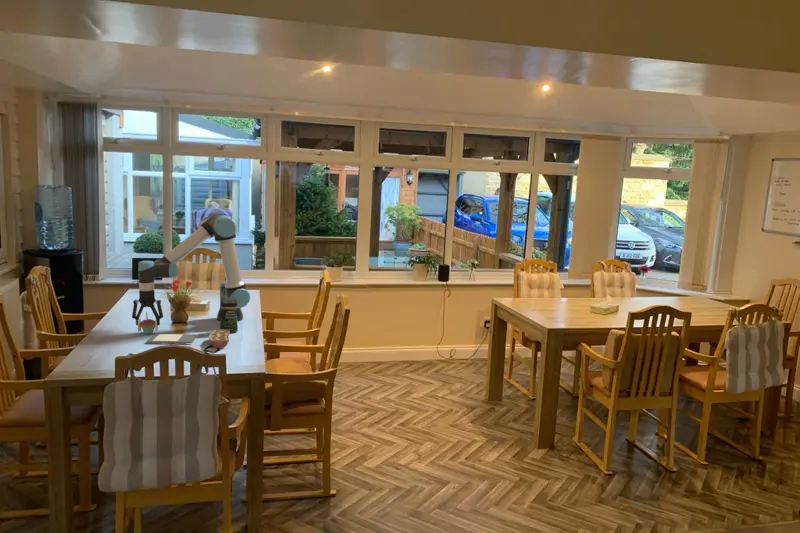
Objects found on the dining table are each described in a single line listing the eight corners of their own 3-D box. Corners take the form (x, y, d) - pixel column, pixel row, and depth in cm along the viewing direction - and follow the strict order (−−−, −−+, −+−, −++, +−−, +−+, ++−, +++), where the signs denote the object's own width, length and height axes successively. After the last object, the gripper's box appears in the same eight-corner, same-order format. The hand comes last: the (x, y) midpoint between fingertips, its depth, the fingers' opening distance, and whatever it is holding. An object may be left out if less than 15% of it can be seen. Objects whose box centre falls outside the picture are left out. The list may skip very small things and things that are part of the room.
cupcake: (154, 334, 313) (153, 312, 311) (137, 334, 312) (136, 312, 310) (158, 330, 322) (157, 308, 320) (142, 330, 320) (141, 308, 318)
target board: (196, 336, 314) (196, 334, 314) (190, 344, 300) (190, 341, 300) (154, 336, 311) (153, 333, 311) (146, 343, 298) (145, 341, 297)
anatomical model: (228, 350, 294) (228, 340, 293) (207, 351, 291) (207, 341, 290) (230, 338, 316) (230, 329, 315) (210, 338, 313) (210, 329, 312)
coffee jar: (220, 334, 321) (220, 301, 319) (219, 330, 329) (219, 298, 326) (238, 333, 325) (238, 300, 322) (237, 329, 332) (237, 297, 330)
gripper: (123, 290, 308) (125, 332, 312) (165, 291, 311) (166, 332, 314) (128, 288, 315) (130, 329, 319) (169, 288, 318) (170, 329, 322)
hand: (148, 330), depth 317 cm, fingers closed on cupcake, 8 cm apart
